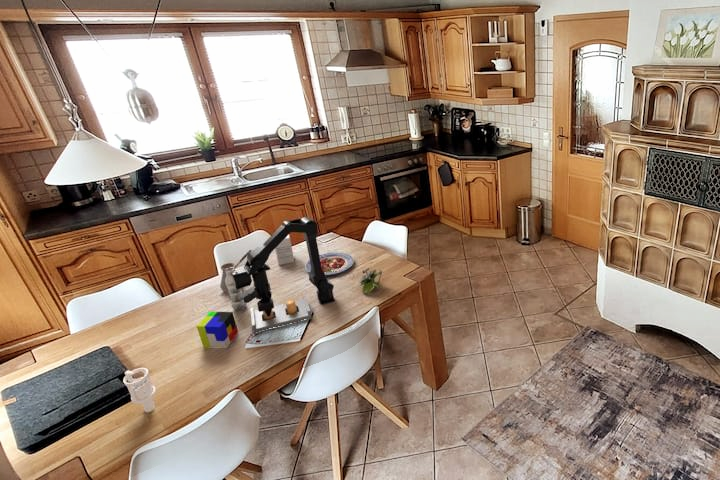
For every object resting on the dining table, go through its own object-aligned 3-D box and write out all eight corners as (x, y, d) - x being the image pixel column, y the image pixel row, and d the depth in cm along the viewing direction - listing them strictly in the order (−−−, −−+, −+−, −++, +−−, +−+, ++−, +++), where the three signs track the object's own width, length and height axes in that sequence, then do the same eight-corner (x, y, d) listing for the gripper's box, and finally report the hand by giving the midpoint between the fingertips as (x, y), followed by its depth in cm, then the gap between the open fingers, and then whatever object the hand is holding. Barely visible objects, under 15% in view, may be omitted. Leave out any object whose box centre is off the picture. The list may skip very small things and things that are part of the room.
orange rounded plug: (273, 312, 171) (270, 301, 169) (274, 317, 168) (271, 305, 165) (263, 315, 170) (260, 303, 168) (264, 320, 167) (261, 308, 164)
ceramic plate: (312, 256, 224) (311, 251, 223) (357, 254, 220) (356, 250, 219) (300, 279, 201) (299, 274, 200) (350, 277, 197) (349, 272, 196)
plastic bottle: (250, 305, 183) (240, 266, 175) (240, 313, 177) (230, 273, 169) (239, 303, 185) (229, 265, 177) (229, 311, 180) (218, 272, 172)
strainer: (149, 398, 134) (134, 363, 128) (166, 401, 132) (151, 366, 126) (132, 415, 128) (116, 379, 122) (150, 418, 126) (134, 382, 120)
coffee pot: (230, 297, 192) (223, 269, 186) (216, 291, 198) (209, 264, 192) (264, 277, 207) (258, 251, 201) (250, 272, 213) (244, 247, 207)
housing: (306, 302, 180) (304, 294, 178) (311, 318, 167) (310, 310, 166) (252, 315, 174) (250, 308, 173) (254, 333, 162) (251, 325, 160)
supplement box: (277, 258, 226) (272, 234, 220) (293, 255, 228) (288, 231, 222) (278, 265, 218) (273, 240, 212) (294, 262, 219) (289, 237, 213)
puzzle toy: (226, 348, 155) (219, 327, 151) (203, 347, 157) (196, 326, 153) (238, 332, 164) (232, 312, 160) (216, 331, 166) (210, 311, 162)
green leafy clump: (368, 295, 190) (371, 270, 192) (386, 297, 183) (390, 271, 185) (353, 292, 182) (356, 266, 184) (371, 294, 175) (375, 266, 177)
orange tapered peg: (296, 310, 174) (294, 299, 172) (298, 315, 171) (295, 303, 168) (287, 313, 173) (285, 301, 171) (288, 318, 170) (286, 306, 167)
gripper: (240, 275, 169) (248, 307, 175) (241, 297, 152) (250, 330, 158) (266, 269, 171) (273, 300, 177) (270, 290, 155) (278, 323, 161)
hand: (268, 313), depth 168 cm, fingers closed on orange rounded plug, 4 cm apart
